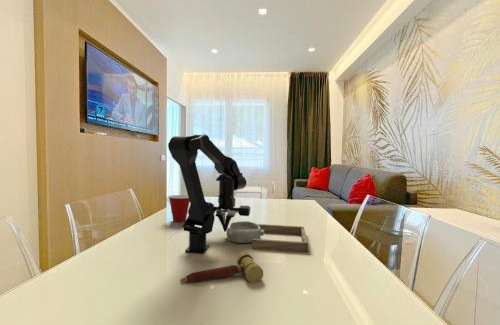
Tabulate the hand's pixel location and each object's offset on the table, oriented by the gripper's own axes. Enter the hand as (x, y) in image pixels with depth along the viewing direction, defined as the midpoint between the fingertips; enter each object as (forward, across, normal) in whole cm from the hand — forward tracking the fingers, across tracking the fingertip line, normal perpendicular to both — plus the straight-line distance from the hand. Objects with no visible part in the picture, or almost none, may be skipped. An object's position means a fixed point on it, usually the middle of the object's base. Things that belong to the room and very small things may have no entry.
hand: (225, 231), depth 106 cm
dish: (+2, -8, 0) cm, 8 cm away
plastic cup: (+3, +26, -19) cm, 32 cm away
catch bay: (+2, -21, 0) cm, 21 cm away
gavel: (+3, -6, +33) cm, 34 cm away
